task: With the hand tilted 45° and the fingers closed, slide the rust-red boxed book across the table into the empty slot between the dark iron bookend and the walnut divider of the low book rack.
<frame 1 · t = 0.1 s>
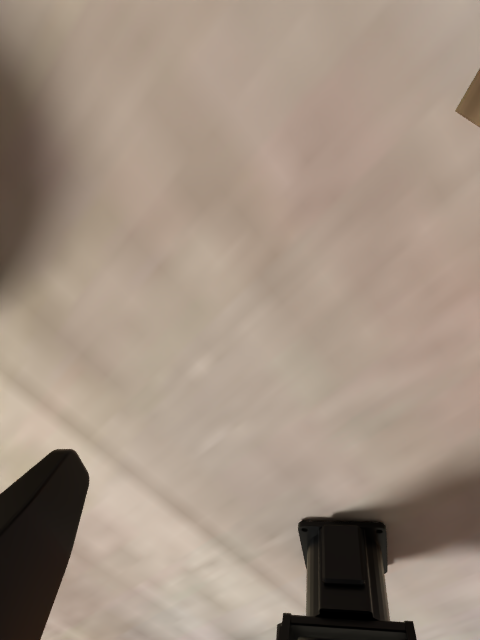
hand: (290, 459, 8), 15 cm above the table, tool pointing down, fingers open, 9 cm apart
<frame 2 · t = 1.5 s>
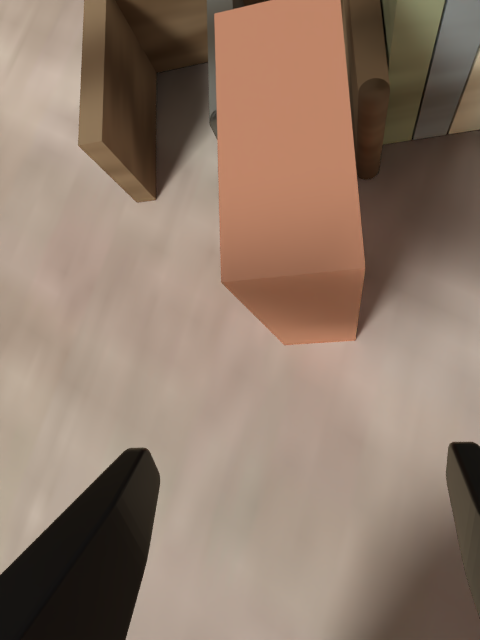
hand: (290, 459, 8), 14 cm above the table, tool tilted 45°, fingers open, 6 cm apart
book rack: (303, 107, 25), on the table
book: (313, 266, 23), on the table
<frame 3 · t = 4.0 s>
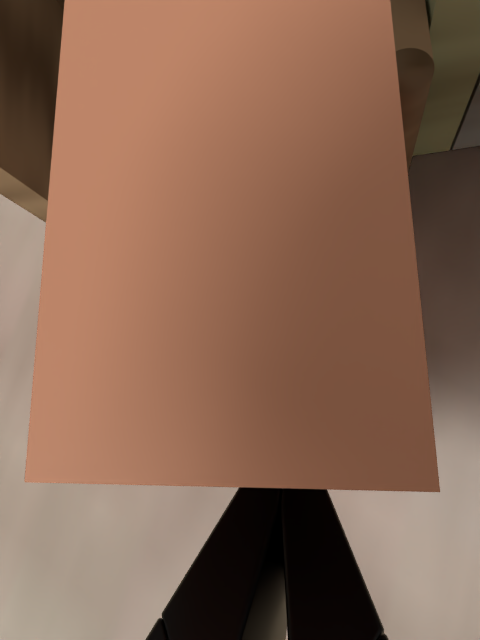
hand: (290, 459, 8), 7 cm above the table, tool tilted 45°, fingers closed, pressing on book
book rack: (293, 104, 18), on the table
book: (308, 315, 16), on the table, touching gripper
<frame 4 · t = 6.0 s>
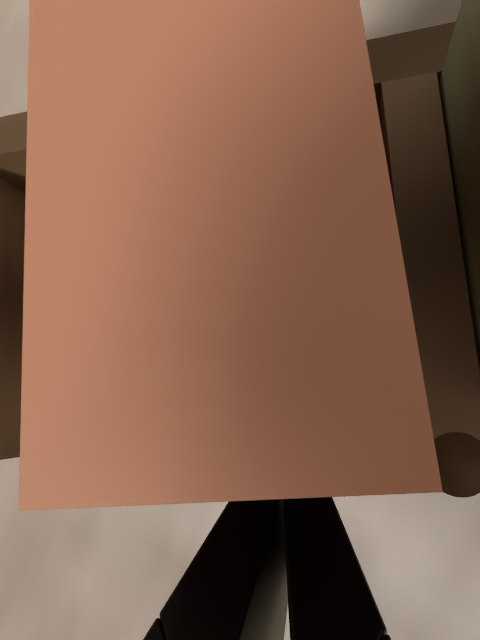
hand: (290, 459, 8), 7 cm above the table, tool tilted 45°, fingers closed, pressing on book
book rack: (307, 319, 16), on the table
book: (301, 314, 16), resting in book rack, touching gripper
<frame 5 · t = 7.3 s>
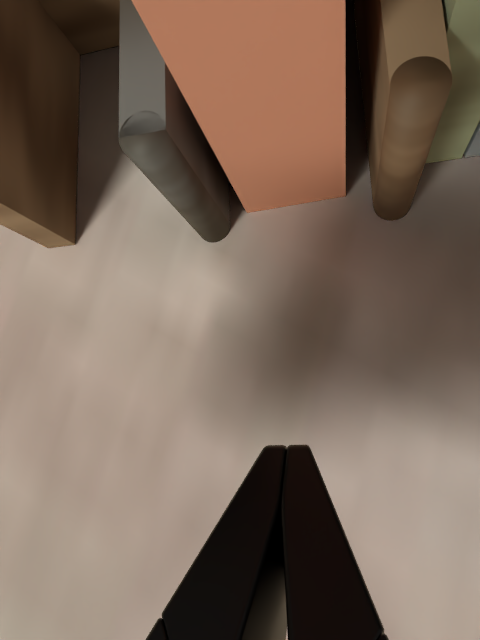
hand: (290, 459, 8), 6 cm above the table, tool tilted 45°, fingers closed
book rack: (291, 106, 16), on the table
book: (284, 103, 16), resting in book rack
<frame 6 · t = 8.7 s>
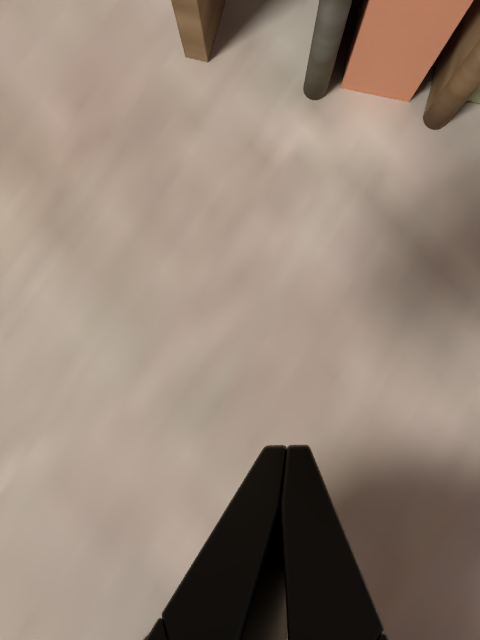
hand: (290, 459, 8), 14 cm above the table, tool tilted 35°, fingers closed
book rack: (396, 24, 23), on the table
book: (391, 20, 23), resting in book rack
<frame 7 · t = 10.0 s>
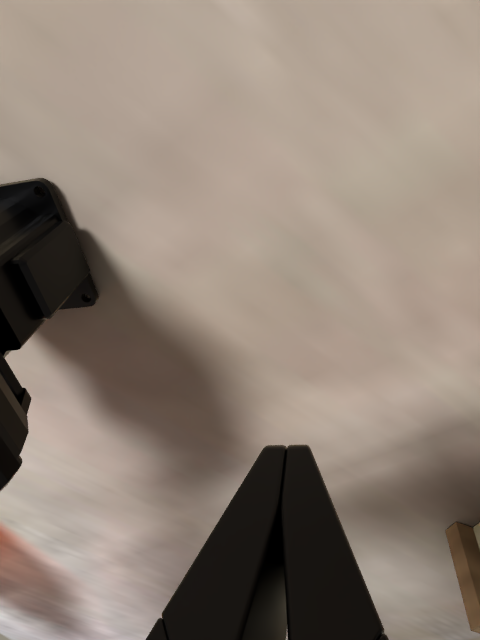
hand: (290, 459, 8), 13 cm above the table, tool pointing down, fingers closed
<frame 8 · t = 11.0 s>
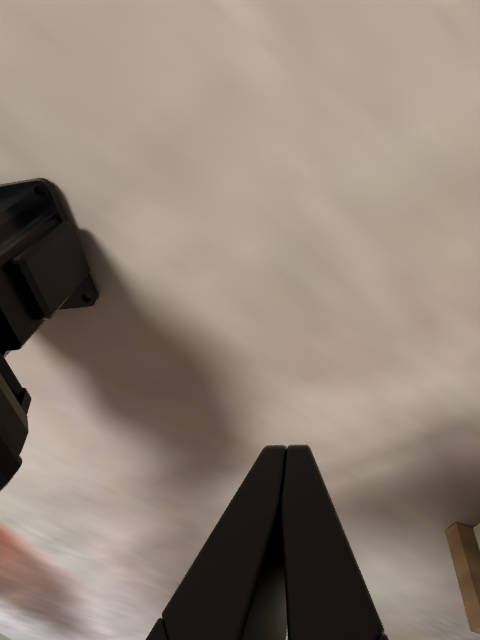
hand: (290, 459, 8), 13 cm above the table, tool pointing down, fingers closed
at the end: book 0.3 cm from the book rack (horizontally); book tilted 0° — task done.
